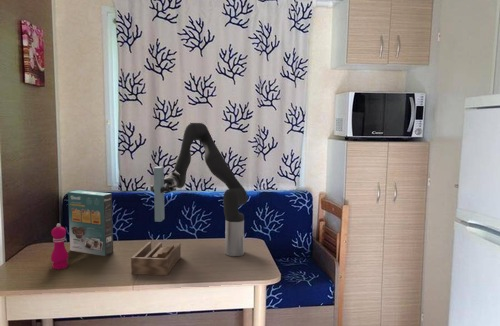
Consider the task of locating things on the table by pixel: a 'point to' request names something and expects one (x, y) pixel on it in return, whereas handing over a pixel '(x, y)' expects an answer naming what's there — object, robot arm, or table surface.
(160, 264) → the rack
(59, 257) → the pepper mill
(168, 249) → the offcuts
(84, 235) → the cake mix box
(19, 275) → the table surface
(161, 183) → the panel
